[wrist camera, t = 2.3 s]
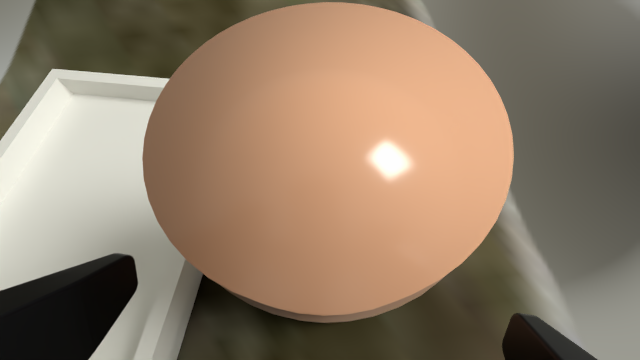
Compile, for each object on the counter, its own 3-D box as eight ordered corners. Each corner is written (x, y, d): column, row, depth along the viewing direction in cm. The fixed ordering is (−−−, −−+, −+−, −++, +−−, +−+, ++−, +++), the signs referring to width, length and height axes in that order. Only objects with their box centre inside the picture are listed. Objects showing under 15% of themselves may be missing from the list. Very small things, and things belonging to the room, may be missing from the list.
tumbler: (385, 335, 15) (556, 361, 4) (260, 314, 16) (60, 281, 4) (391, 213, 18) (497, 8, 6) (284, 200, 19) (205, -8, 7)
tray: (161, 410, 14) (129, 425, 12) (-91, 358, 16) (-162, 364, 13) (253, 109, 22) (244, 85, 20) (79, 93, 23) (52, 68, 21)
